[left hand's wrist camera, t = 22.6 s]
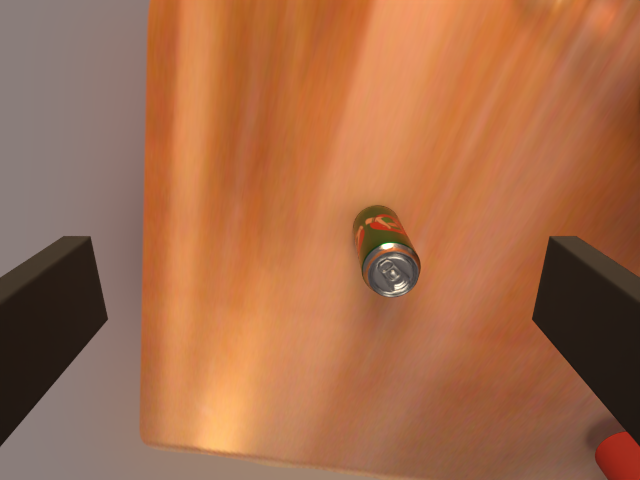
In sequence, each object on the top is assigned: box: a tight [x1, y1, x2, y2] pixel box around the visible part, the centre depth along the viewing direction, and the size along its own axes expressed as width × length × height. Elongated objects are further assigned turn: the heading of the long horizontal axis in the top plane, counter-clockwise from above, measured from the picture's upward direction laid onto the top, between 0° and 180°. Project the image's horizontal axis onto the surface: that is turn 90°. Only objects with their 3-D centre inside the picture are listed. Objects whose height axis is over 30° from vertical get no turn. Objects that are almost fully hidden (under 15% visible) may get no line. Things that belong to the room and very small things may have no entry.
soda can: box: [353, 206, 421, 297], centre depth 41 cm, size 5×5×12 cm
